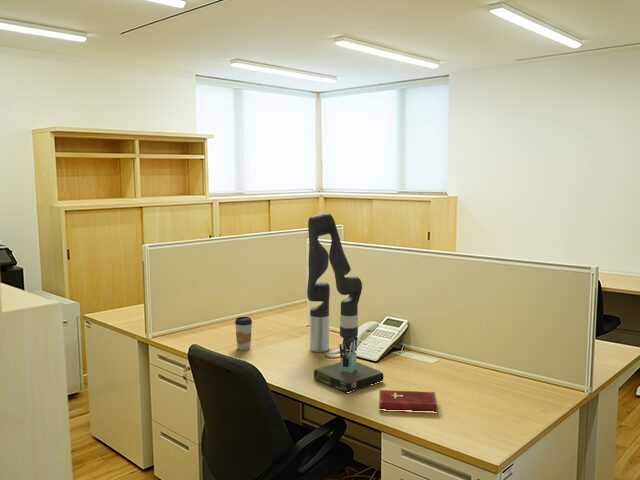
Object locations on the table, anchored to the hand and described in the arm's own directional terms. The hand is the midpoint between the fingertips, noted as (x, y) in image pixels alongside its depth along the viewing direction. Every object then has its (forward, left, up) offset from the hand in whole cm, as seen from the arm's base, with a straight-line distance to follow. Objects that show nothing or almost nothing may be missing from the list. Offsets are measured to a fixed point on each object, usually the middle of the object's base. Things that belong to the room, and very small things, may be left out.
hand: (348, 364), depth 240 cm
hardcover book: (+14, +30, -8) cm, 34 cm away
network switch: (0, 0, -8) cm, 8 cm away
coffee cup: (-17, -63, -7) cm, 66 cm away
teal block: (0, 0, -3) cm, 3 cm away
